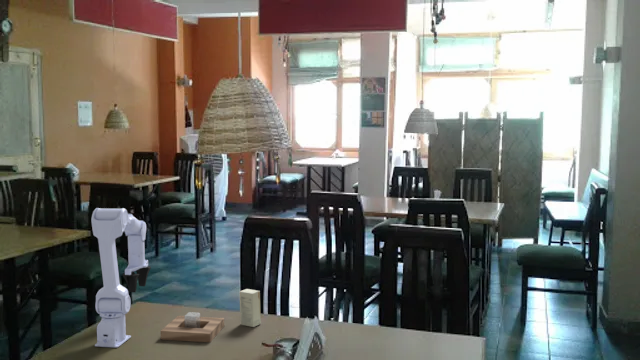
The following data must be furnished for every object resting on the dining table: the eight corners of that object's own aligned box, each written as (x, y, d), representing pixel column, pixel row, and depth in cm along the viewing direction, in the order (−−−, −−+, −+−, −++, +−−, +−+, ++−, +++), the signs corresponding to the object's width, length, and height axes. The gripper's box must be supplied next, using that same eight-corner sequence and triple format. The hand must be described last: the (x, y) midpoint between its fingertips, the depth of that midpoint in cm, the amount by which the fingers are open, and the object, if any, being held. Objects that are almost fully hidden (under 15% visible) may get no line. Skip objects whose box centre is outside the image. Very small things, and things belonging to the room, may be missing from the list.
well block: (210, 342, 185) (210, 333, 185) (160, 339, 188) (160, 330, 187) (224, 326, 200) (224, 318, 200) (178, 323, 202) (178, 315, 202)
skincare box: (261, 324, 202) (261, 290, 201) (253, 327, 199) (253, 293, 197) (247, 320, 206) (246, 287, 204) (239, 324, 202) (239, 290, 201)
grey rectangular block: (196, 333, 191) (195, 316, 191) (184, 333, 192) (184, 315, 191) (200, 329, 195) (200, 312, 195) (189, 328, 196) (188, 312, 195)
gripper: (137, 257, 200) (138, 295, 201) (155, 248, 214) (156, 283, 215) (118, 257, 201) (120, 294, 202) (137, 248, 215) (138, 283, 216)
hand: (137, 288), depth 209 cm, fingers open, 7 cm apart
